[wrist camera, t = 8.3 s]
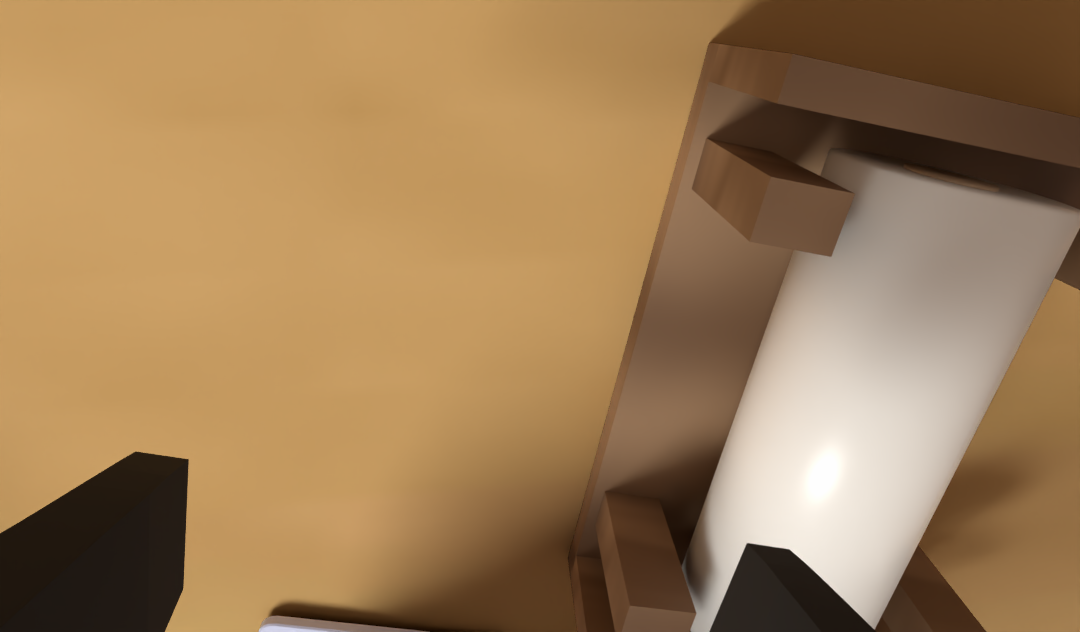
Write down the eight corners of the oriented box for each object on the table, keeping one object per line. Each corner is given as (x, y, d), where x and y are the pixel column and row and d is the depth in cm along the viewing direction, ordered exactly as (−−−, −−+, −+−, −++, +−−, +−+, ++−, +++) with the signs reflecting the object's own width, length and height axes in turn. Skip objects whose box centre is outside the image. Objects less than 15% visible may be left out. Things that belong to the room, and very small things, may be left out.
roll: (837, 584, 21) (872, 726, 16) (677, 535, 21) (670, 658, 17) (1025, 184, 16) (1143, 230, 12) (815, 136, 17) (854, 164, 12)
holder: (864, 593, 23) (955, 738, 18) (567, 557, 22) (586, 702, 17) (1094, 128, 17) (1307, 168, 13) (709, 42, 16) (793, 53, 12)
